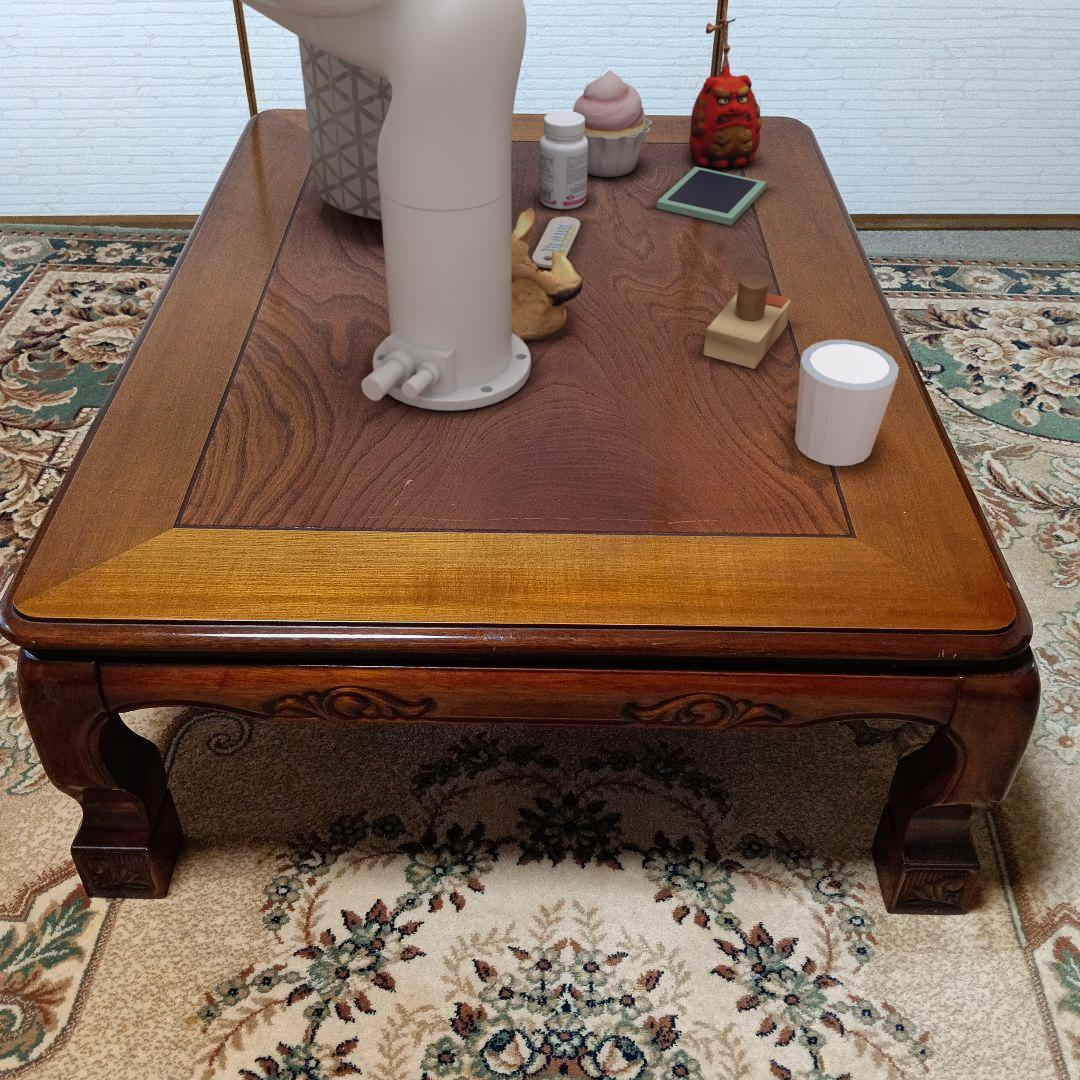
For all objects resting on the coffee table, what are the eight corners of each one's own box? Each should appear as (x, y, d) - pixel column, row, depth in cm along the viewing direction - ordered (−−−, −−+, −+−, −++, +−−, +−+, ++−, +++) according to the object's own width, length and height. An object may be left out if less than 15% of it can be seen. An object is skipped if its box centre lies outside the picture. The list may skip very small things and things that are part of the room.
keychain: (561, 263, 110) (528, 260, 110) (560, 269, 110) (528, 266, 110) (583, 215, 117) (553, 212, 118) (583, 221, 118) (553, 217, 118)
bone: (433, 325, 102) (434, 230, 97) (488, 284, 109) (490, 194, 104) (562, 361, 98) (569, 264, 93) (609, 315, 105) (618, 224, 100)
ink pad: (731, 226, 118) (732, 217, 117) (656, 208, 121) (656, 200, 120) (766, 189, 125) (767, 180, 124) (694, 173, 127) (695, 165, 127)
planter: (422, 271, 110) (411, 68, 98) (276, 214, 118) (251, 21, 107) (547, 202, 121) (551, 13, 110) (406, 155, 130) (396, -25, 118)
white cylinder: (811, 477, 86) (828, 395, 82) (771, 425, 91) (784, 344, 87) (897, 462, 88) (918, 381, 83) (852, 412, 93) (870, 332, 88)
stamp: (754, 369, 97) (763, 309, 94) (702, 355, 99) (709, 295, 96) (787, 326, 103) (796, 267, 99) (737, 313, 105) (745, 255, 101)
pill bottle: (587, 192, 123) (591, 110, 118) (584, 212, 120) (587, 128, 114) (541, 189, 124) (542, 107, 118) (536, 209, 120) (537, 125, 115)
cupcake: (643, 148, 132) (650, 55, 126) (654, 183, 125) (662, 86, 119) (558, 149, 132) (561, 55, 126) (565, 184, 125) (568, 87, 118)
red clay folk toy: (700, 175, 127) (715, 27, 118) (675, 150, 132) (688, 6, 123) (766, 168, 129) (786, 21, 119) (739, 143, 134) (757, 1, 124)
